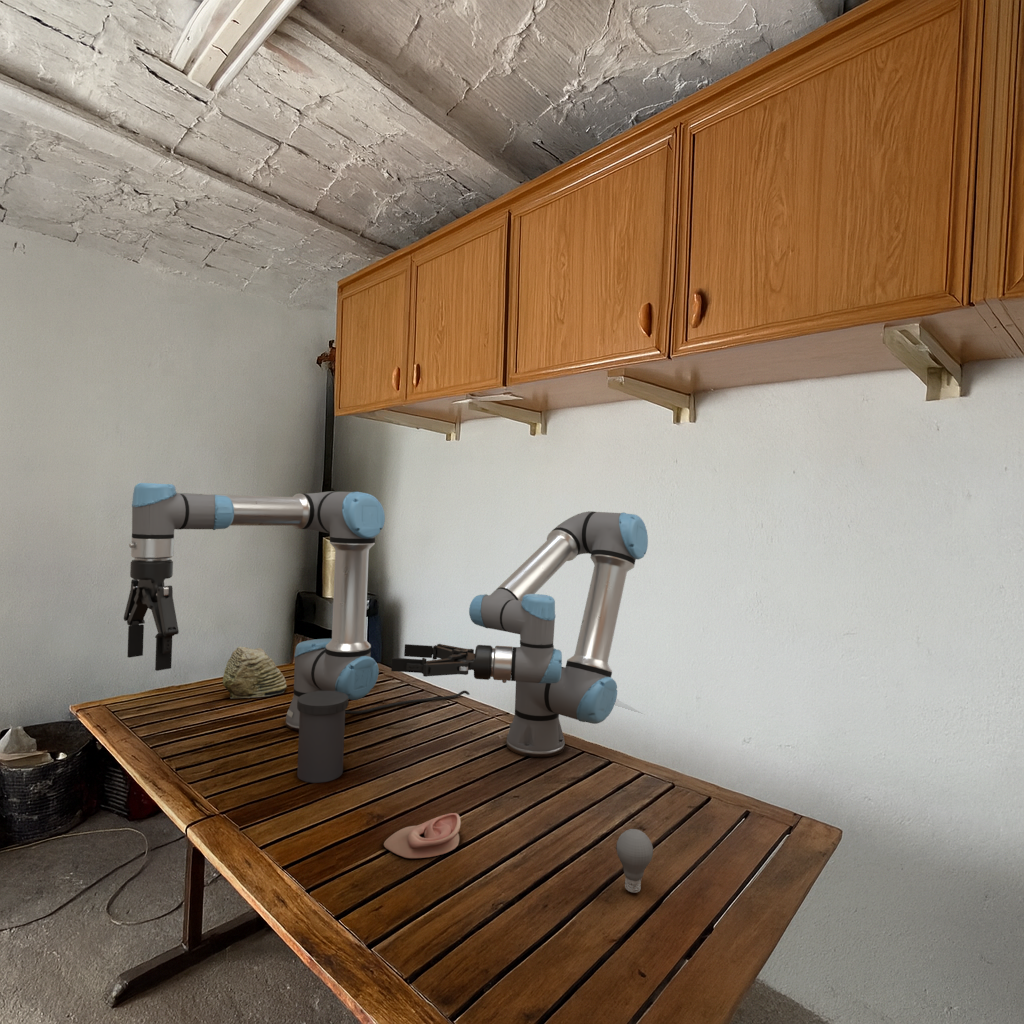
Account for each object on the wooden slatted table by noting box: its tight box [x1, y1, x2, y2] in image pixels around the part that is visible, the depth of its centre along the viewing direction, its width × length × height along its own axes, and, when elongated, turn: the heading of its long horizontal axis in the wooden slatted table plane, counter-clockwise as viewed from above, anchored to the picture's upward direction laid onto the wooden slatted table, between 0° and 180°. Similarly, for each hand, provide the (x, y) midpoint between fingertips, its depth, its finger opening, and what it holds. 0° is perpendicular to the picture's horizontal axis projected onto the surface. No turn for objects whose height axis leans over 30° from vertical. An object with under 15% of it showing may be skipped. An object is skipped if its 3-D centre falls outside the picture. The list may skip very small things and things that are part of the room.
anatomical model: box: [383, 812, 462, 859], centre depth 117 cm, size 13×4×12 cm
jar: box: [296, 709, 346, 784], centre depth 145 cm, size 10×10×17 cm
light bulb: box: [615, 828, 654, 894], centre depth 106 cm, size 6×6×10 cm
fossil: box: [222, 646, 288, 699], centre depth 198 cm, size 9×18×15 cm, turn 132°
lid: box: [297, 691, 349, 715], centre depth 145 cm, size 11×11×2 cm
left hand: (148, 662), depth 129 cm, fingers open, 13 cm apart
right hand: (398, 656), depth 143 cm, fingers open, 13 cm apart
